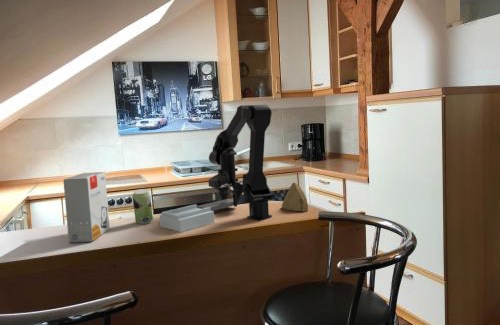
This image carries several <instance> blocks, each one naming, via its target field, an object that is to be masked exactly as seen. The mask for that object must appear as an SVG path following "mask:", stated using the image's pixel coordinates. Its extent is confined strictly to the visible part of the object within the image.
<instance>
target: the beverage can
mask: <svg viewBox="0 0 500 325" xmlns="http://www.w3.org/2000/svg"><path fill="white" fill-rule="evenodd" d="M132 202H133V203H132V204H133V210H134V212H133V213H134V221H135V222H136V223H138V224H139V225H146V224H149V223H151V221H153V220H154V217H153V208H152V207H153V206H152V199H151V193H150V192H149V190H148V189H146V188H140V189H136V190H134V191H133V193H132Z"/></svg>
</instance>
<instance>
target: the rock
mask: <svg viewBox="0 0 500 325" xmlns="http://www.w3.org/2000/svg"><path fill="white" fill-rule="evenodd" d="M307 201H308V200H307V197H306V195H305V192H304V190H302V187H300V184H298V183H296V182H292V183H291V186H290V187H289V188H288V191H287V192H286V195H285V197H284V199H283V201H282V203H281V208H280V209H283V210H287V211H295V212H297V211H298V212H308V211H309V206H308V205H309V204H308V202H307Z"/></svg>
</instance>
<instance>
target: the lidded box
mask: <svg viewBox="0 0 500 325" xmlns="http://www.w3.org/2000/svg"><path fill="white" fill-rule="evenodd" d="M197 206H198V205H197V204H196V203H195V204H190V205H186V206H183V207H178V208H175V209H170V210H165V211H161V214H159V223H160V224H159V226H162V227H161V228H164V227H166V228H165V229H167V228H170V229H169V230H171V229H173V230H172V231H174V230H176V231H175V232H178V231H179V232H178V233H183V231H184V232H187V231H186V230H188V231H190V230H189V229H191V230H194V229H193V228H195V229H198V228H201V226H202V227H205V226H208V225H207V224H209V225H211V223H212V224H215V210H214V211H211V207H207V208H203V209H200V208H197ZM204 225H205V226H204ZM197 227H198V228H197Z"/></svg>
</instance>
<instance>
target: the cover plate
mask: <svg viewBox="0 0 500 325" xmlns="http://www.w3.org/2000/svg"><path fill="white" fill-rule="evenodd" d="M238 205H240V201H239V202H238ZM207 207H211V211H214V212H215V211H217V210H221V209H222V210H223V209H225V208H230V207H234V202H233V198H227V199H225V200H222V199H221V200H217V201H213V202H208V203H204V204H200V205H197V208H200V209H203V208H207Z"/></svg>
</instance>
